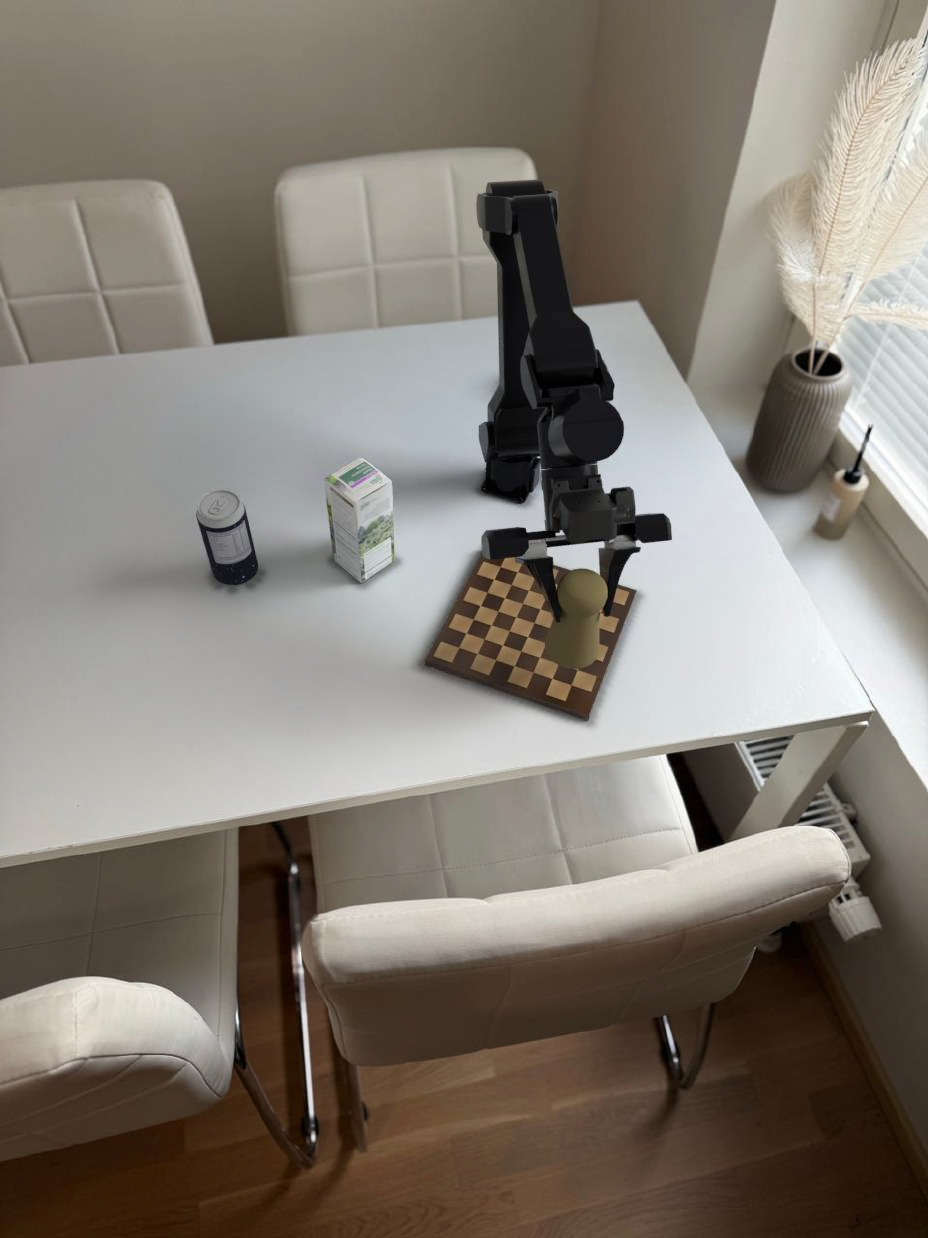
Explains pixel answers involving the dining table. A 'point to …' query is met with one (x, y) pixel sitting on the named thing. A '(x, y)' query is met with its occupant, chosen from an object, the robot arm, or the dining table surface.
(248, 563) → the beverage can
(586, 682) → the chessboard
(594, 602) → the chess pawn
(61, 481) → the dining table surface
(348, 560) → the syrup box
